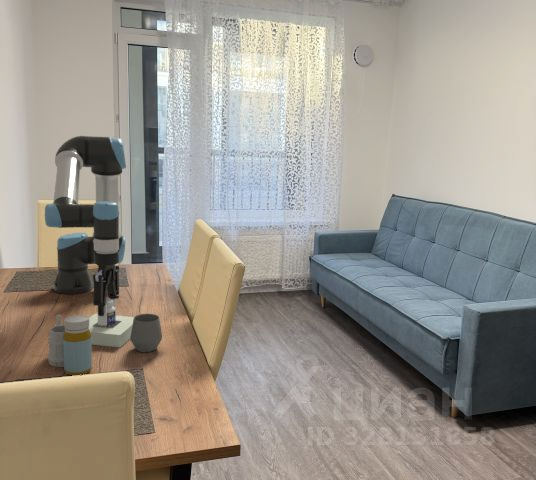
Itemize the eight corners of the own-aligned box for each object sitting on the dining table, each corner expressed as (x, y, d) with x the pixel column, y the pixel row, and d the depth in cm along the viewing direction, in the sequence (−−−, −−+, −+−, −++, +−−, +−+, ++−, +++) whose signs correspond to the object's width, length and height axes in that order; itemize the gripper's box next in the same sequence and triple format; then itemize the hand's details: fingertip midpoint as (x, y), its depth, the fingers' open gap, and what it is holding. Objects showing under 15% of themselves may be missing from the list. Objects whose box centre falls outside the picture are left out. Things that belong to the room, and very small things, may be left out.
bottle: (67, 366, 139) (65, 314, 136) (93, 365, 140) (92, 314, 138) (61, 377, 132) (60, 323, 129) (89, 376, 133) (88, 322, 131)
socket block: (95, 324, 171) (95, 313, 170) (140, 329, 169) (140, 317, 168) (71, 342, 155) (70, 329, 154) (120, 347, 153) (120, 335, 152)
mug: (49, 369, 136) (48, 327, 134) (44, 353, 146) (43, 314, 144) (79, 364, 140) (78, 324, 138) (72, 349, 150) (71, 310, 148)
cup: (146, 357, 147) (146, 325, 145) (123, 349, 151) (123, 318, 150) (168, 347, 155) (168, 317, 153) (146, 340, 159) (146, 310, 158)
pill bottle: (110, 331, 158) (109, 304, 156) (95, 329, 159) (94, 302, 157) (118, 324, 164) (118, 299, 162) (103, 322, 165) (103, 297, 163)
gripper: (108, 244, 166) (109, 311, 171) (80, 256, 148) (81, 330, 152) (129, 246, 165) (130, 313, 170) (104, 258, 147) (104, 332, 151)
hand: (107, 321), depth 161 cm, fingers open, 6 cm apart
